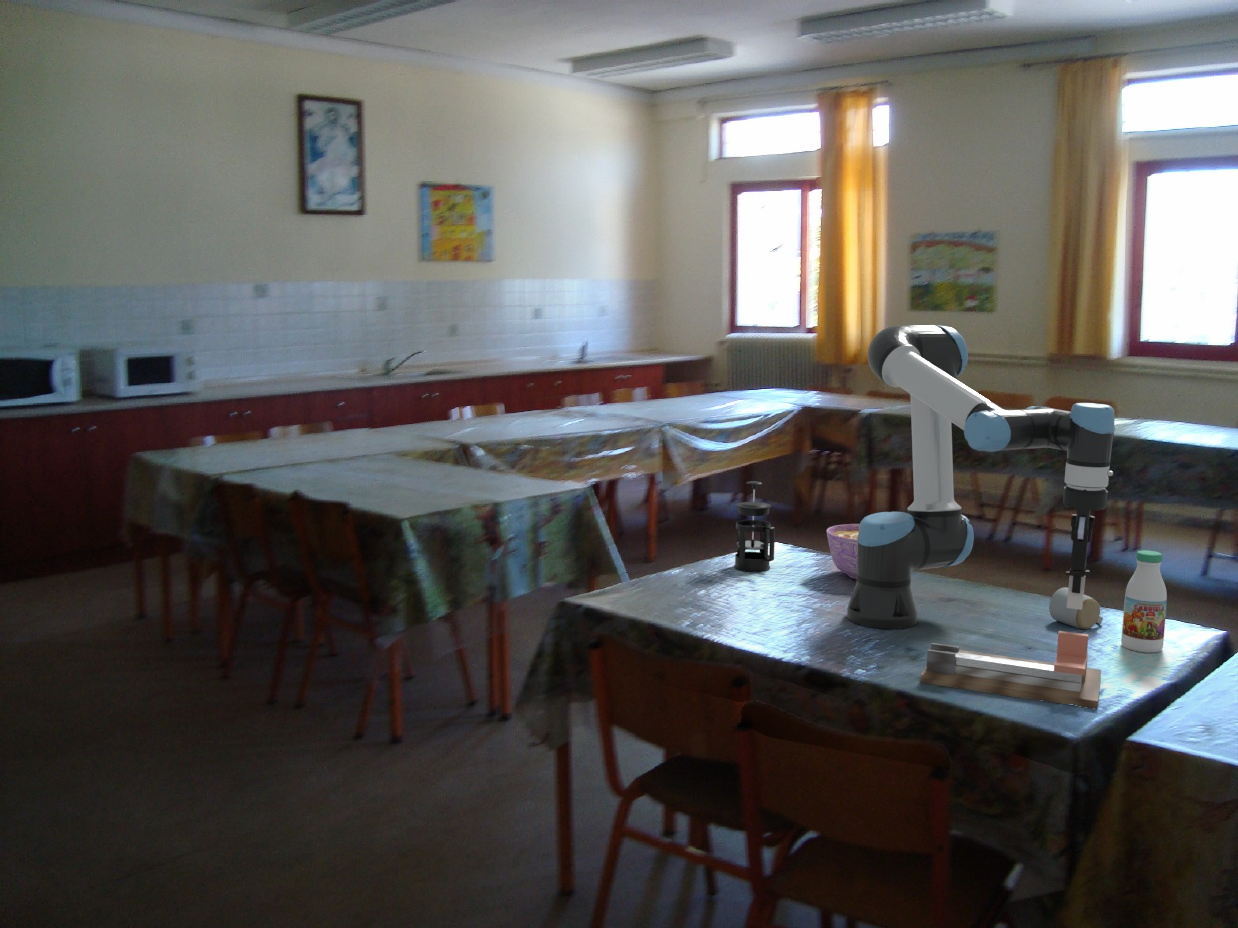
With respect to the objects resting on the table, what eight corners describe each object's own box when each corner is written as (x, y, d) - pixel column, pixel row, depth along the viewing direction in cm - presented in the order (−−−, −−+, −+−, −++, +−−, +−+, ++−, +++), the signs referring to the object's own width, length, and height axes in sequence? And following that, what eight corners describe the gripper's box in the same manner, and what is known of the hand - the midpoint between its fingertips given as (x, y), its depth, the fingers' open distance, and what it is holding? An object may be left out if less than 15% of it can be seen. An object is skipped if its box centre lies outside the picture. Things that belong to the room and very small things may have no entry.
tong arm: (941, 662, 202) (941, 654, 202) (944, 657, 205) (944, 650, 205) (1080, 682, 192) (1081, 674, 192) (1081, 677, 195) (1082, 669, 195)
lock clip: (1053, 671, 193) (1055, 643, 192) (1056, 657, 200) (1058, 630, 199) (1084, 675, 190) (1086, 647, 190) (1086, 661, 198) (1088, 634, 197)
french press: (724, 567, 286) (726, 481, 282) (746, 561, 292) (748, 477, 289) (760, 575, 277) (763, 486, 274) (782, 569, 284) (785, 482, 281)
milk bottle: (1113, 642, 225) (1120, 548, 222) (1148, 641, 226) (1156, 547, 223) (1134, 654, 218) (1141, 557, 215) (1170, 653, 218) (1179, 556, 215)
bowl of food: (903, 569, 285) (905, 526, 283) (906, 588, 266) (908, 542, 264) (826, 564, 289) (827, 522, 288) (823, 583, 270) (824, 538, 268)
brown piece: (920, 682, 201) (922, 653, 200) (937, 654, 217) (938, 627, 216) (1097, 709, 188) (1099, 679, 187) (1100, 677, 204) (1102, 649, 203)
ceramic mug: (1077, 632, 232) (1080, 597, 230) (1047, 622, 239) (1049, 588, 238) (1112, 627, 236) (1115, 593, 235) (1081, 617, 243) (1084, 584, 242)
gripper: (1106, 494, 195) (1094, 620, 199) (1108, 482, 207) (1097, 601, 211) (1062, 490, 198) (1050, 614, 203) (1066, 478, 210) (1055, 596, 214)
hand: (1074, 607), depth 207 cm, fingers closed
